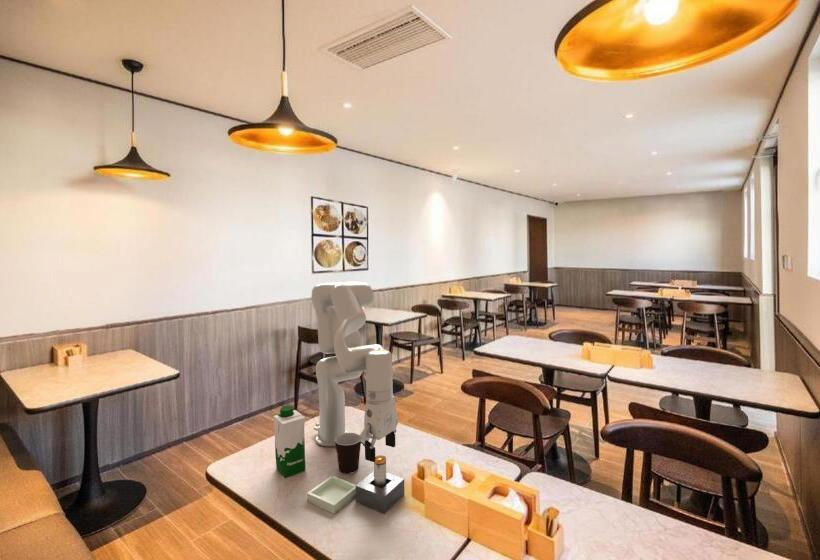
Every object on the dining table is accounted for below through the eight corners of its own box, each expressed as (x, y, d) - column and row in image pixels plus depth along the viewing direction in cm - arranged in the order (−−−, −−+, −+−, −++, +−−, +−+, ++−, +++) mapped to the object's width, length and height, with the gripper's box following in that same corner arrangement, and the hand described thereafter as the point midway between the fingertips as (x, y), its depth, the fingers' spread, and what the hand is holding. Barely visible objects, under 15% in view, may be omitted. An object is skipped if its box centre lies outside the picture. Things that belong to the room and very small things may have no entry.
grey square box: (355, 502, 113) (355, 485, 113) (376, 484, 121) (376, 468, 121) (384, 514, 108) (384, 496, 107) (404, 495, 116) (404, 478, 116)
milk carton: (297, 459, 136) (296, 403, 135) (309, 470, 129) (308, 411, 128) (272, 468, 131) (270, 409, 129) (283, 481, 124) (281, 418, 122)
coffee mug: (356, 476, 126) (356, 446, 125) (331, 474, 127) (330, 443, 127) (367, 458, 137) (367, 430, 136) (344, 455, 139) (343, 428, 138)
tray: (307, 501, 113) (306, 493, 113) (332, 483, 122) (332, 475, 122) (334, 513, 108) (334, 505, 108) (358, 494, 117) (358, 485, 117)
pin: (371, 499, 114) (371, 459, 113) (379, 493, 117) (378, 454, 116) (381, 503, 112) (381, 463, 111) (388, 497, 115) (388, 457, 114)
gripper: (371, 406, 103) (372, 470, 104) (407, 387, 117) (408, 443, 118) (349, 401, 107) (350, 463, 108) (386, 383, 121) (387, 438, 122)
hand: (380, 453), depth 113 cm, fingers open, 9 cm apart
